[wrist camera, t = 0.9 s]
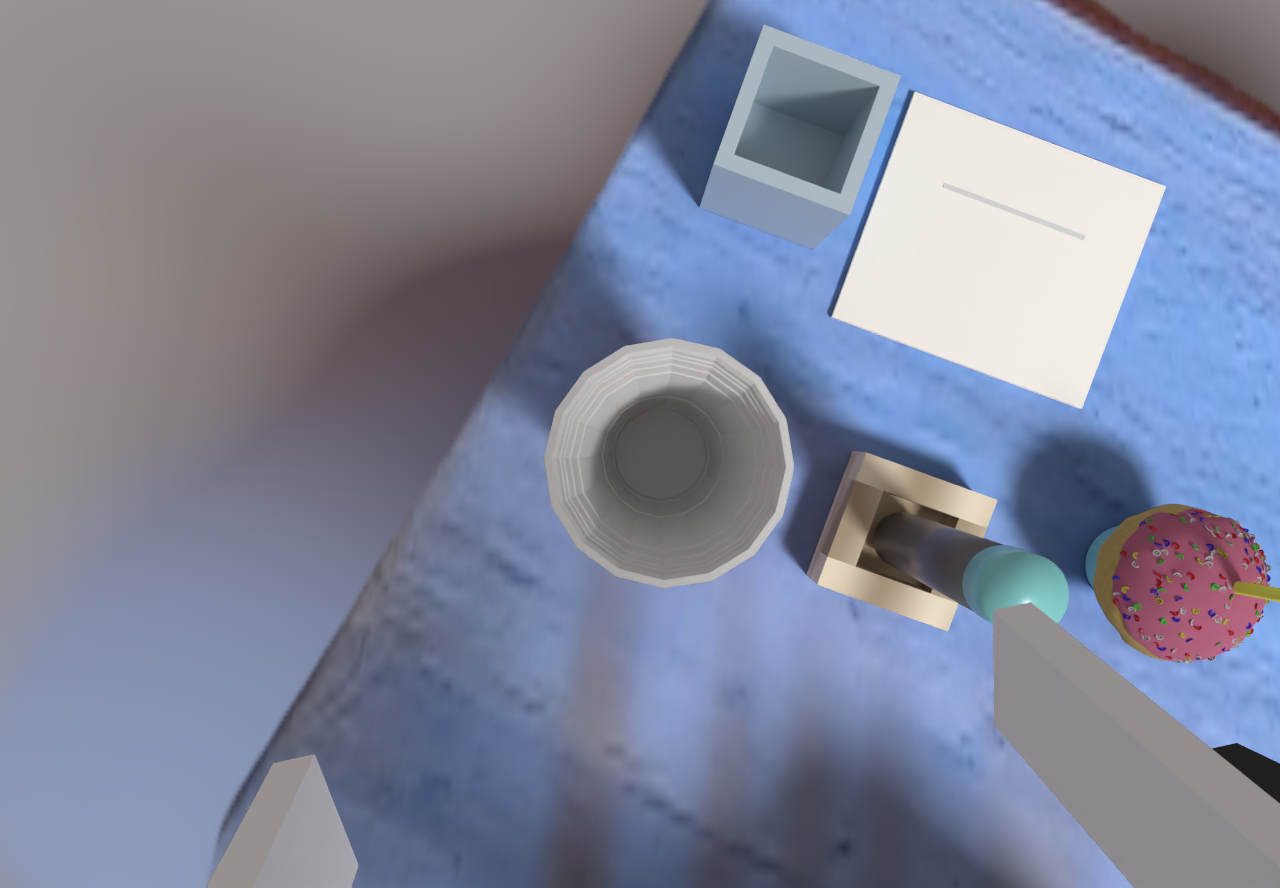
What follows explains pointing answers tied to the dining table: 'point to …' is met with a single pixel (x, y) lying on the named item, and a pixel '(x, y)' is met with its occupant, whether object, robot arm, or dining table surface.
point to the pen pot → (798, 139)
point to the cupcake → (1180, 582)
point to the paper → (997, 251)
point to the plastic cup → (669, 463)
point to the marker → (970, 566)
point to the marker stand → (854, 517)
